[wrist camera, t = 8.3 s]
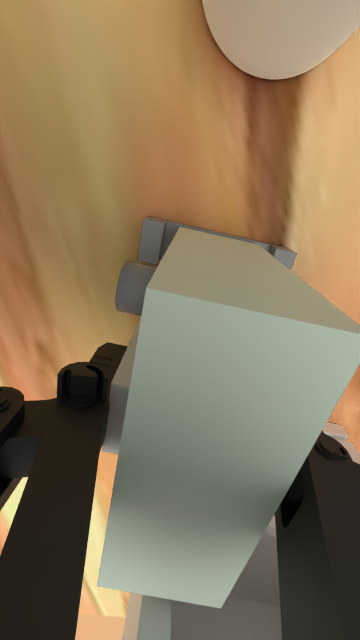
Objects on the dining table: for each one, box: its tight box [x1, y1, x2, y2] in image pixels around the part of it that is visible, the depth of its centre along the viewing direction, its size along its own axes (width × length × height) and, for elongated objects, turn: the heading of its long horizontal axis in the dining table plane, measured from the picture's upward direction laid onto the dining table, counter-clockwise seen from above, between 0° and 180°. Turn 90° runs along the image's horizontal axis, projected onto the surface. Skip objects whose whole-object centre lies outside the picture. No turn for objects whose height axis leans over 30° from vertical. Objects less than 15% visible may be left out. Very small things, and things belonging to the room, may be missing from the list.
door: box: [97, 227, 360, 609], centre depth 11 cm, size 10×5×10 cm, turn 168°
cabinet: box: [122, 216, 360, 640], centre depth 12 cm, size 18×15×13 cm
